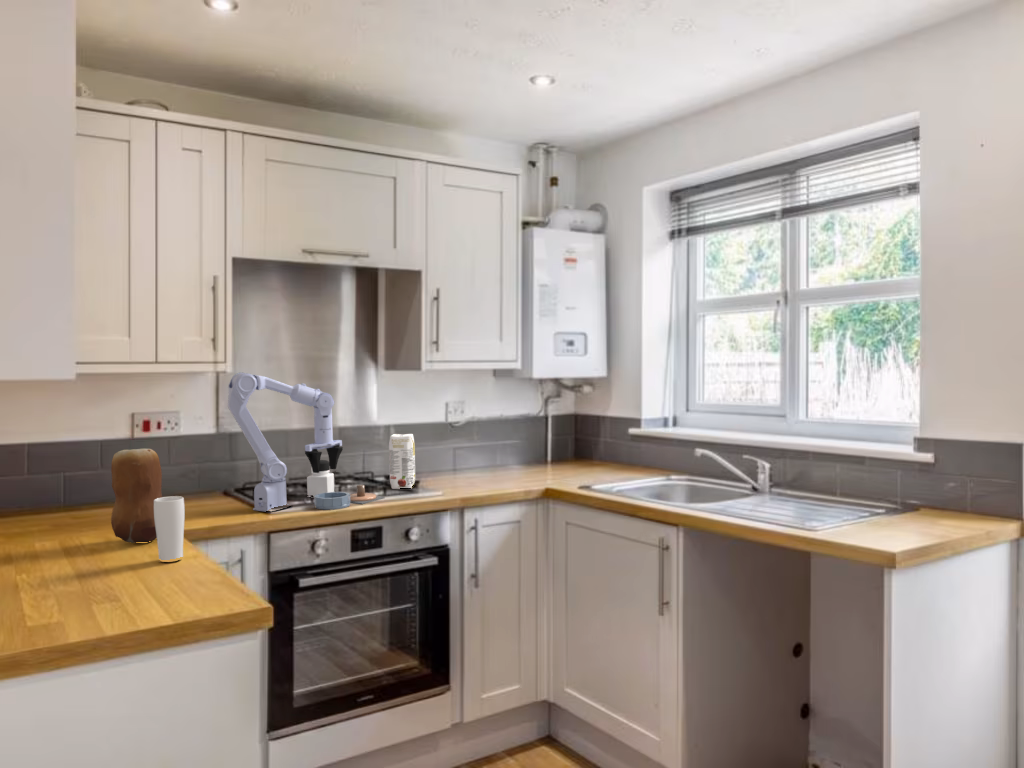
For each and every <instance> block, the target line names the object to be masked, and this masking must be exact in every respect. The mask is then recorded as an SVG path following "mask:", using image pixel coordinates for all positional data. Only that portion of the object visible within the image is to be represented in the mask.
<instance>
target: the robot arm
mask: <svg viewBox="0 0 1024 768" xmlns="http://www.w3.org/2000/svg"><path fill="white" fill-rule="evenodd" d="M227 388H228V396H227V398H228V399H227V407H228V410H229V411H230V413H231V415H232V416H233V419H234V420H235V422H236V423H237V425H238V427H239V428H240V430H241V431H242V433H243V435H244V437H245V439H246V440H247V442H248V443H249V445H250V447H251V448H252V450H253V452H254V454H255V455H256V458H257V461H258V462H259V465H260V471H261V473H262V475H263V477H262V478H261V482H259V483H257V484H256V485H255V486H254V489H253V490H254V491H253V499H254V500H253V501H254V503H253V504H254V507H253V508H252V510H253V511H259V512H266V511H268V510H269V509H271V508H274V507H278V506H283V505H286V504H287V505H288V503H287V501H288V499H287V477H286V476H287V473H288V468H287V465H286V464H285V463H284V462H283V461H281V460H280V459H279V458H278V456H277V455H276V453H275V452H274V450H272V447H271V446H270V445H269V443H268V441H267V440H266V437H265V435H264V434H263V433H262V431H261V430H260V428H259V426H258V425H257V423H256V421H255V419H254V417H253V415H252V414H251V412H250V410H249V408H248V406H247V404H248V403H249V399H250V397H251V396H252V394H253V393H254V392H255V391H260V390H261V391H262V390H265V389H267V390H270V391H274V392H277V393H280V394H283V395H288V396H289V398H290V400H291V401H292V402H295V403H299V404H301V405H305V406H308V407H313V412H314V413H313V419H314V420H313V421H314V424H313V425H314V430H313V431H314V442H313V443H309V444H305V445H304V449H305V451H304V455H306V458H307V459H308V461H309V464H310V468H311V467H312V470H313V473H319V470H320V460H321V457H322V453H323V452H322V451H319V450H323V449H325V450H326V452H327V454H328V455H327V457H328V461H329V470H336V469H337V466H338V461H339V458H340V455H341V453H342V452H343V448H344V447H343V440H342V439H336V440H335V439H334V435H333V429H334V428H333V410H332V409H333V407H334V405H335V400H334V397H333V396H332V395H331V393H329V392H324V391H322V390H321V389H320V388H312V387H310V386H307V384H306V383H303V382H301V384H300V383H296V384H294V385H289V384H287V383H284V382H282V381H278V380H276V379H274V378H270V377H267V376H264V375H258V374H251V373H248V372H238V373H235V374H234V375H233V376H232V377H231V379H230V381H229V383H228V387H227ZM266 513H267V512H266Z"/></svg>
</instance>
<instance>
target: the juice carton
mask: <svg viewBox="0 0 1024 768" xmlns="http://www.w3.org/2000/svg"><path fill="white" fill-rule="evenodd" d="M415 449H416V445H415V437H414V434H413V433H406V434H400V433H393V434H392V435H390V436H389V443H388V452H389V453H388V455H389V457H388V459H389V482H390V483H389V484H390V487H391V489H392V490H401V489H400V488H411V489H412V488H413V487H414V486H415V482H416V452H415V451H416V450H415ZM413 485H414V486H413ZM412 486H413V487H412Z"/></svg>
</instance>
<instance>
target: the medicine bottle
mask: <svg viewBox="0 0 1024 768" xmlns="http://www.w3.org/2000/svg"><path fill="white" fill-rule="evenodd" d="M310 469H311V470H310V472H311V474H310V475H308V476H307V477H306V489H307V495H313V496H315V495H317V494H321V493H327V492H335V474H334V473H332V472H331V471H330V470H331V469H330V466H329V460H325V459H320V470H319V473H313V470H312V467H311V466H310Z"/></svg>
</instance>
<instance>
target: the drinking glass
mask: <svg viewBox="0 0 1024 768" xmlns="http://www.w3.org/2000/svg"><path fill="white" fill-rule="evenodd" d="M185 507H186V506H185V498H184V497H183V496H179V495H175V496H173V495H172V496H162V498H157V499H155V500H154V521H155V529H156V536H157V538H156V543H157V550H158V560H159V559H161V560H170V559H176V558H180V557H183V558H184V539H185V538H184V535H185V520H186V519H185V518H186V517H185V516H186V515H185V513H186V512H185V511H186V510H185V509H186V508H185Z"/></svg>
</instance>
